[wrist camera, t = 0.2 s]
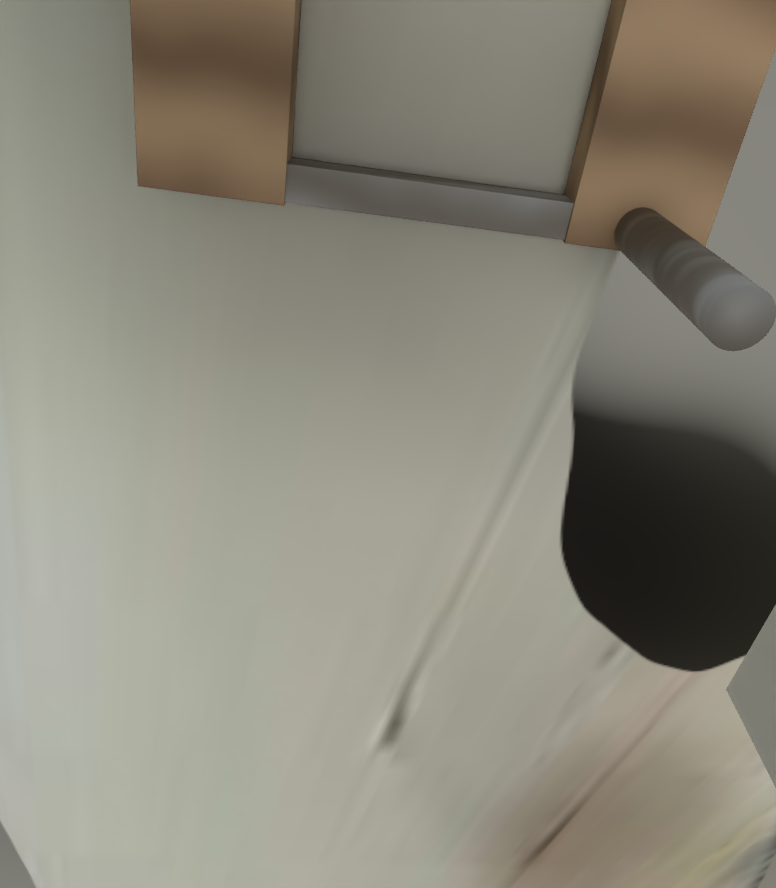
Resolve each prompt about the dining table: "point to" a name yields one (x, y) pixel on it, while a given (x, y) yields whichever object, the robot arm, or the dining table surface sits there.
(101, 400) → the dining table surface
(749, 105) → the wooden stand
